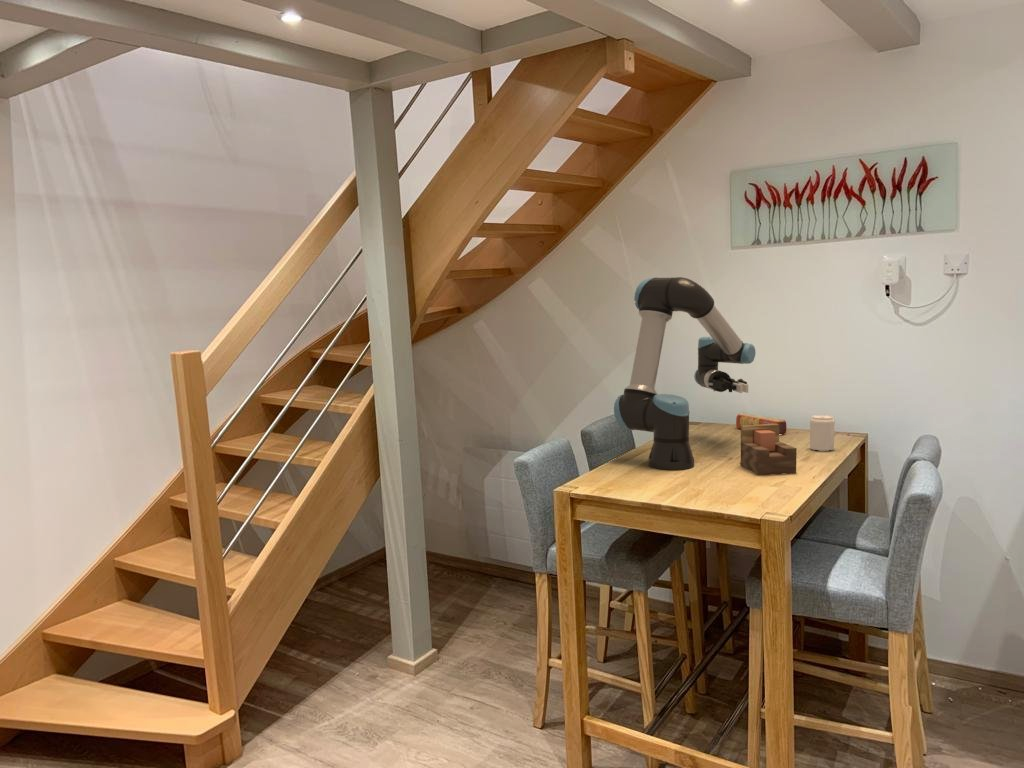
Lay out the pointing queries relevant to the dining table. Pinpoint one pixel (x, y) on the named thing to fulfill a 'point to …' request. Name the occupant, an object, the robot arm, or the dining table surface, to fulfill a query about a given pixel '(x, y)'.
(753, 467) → the guide block
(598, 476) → the dining table surface
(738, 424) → the snack package
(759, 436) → the peg
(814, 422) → the beverage can
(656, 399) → the robot arm
